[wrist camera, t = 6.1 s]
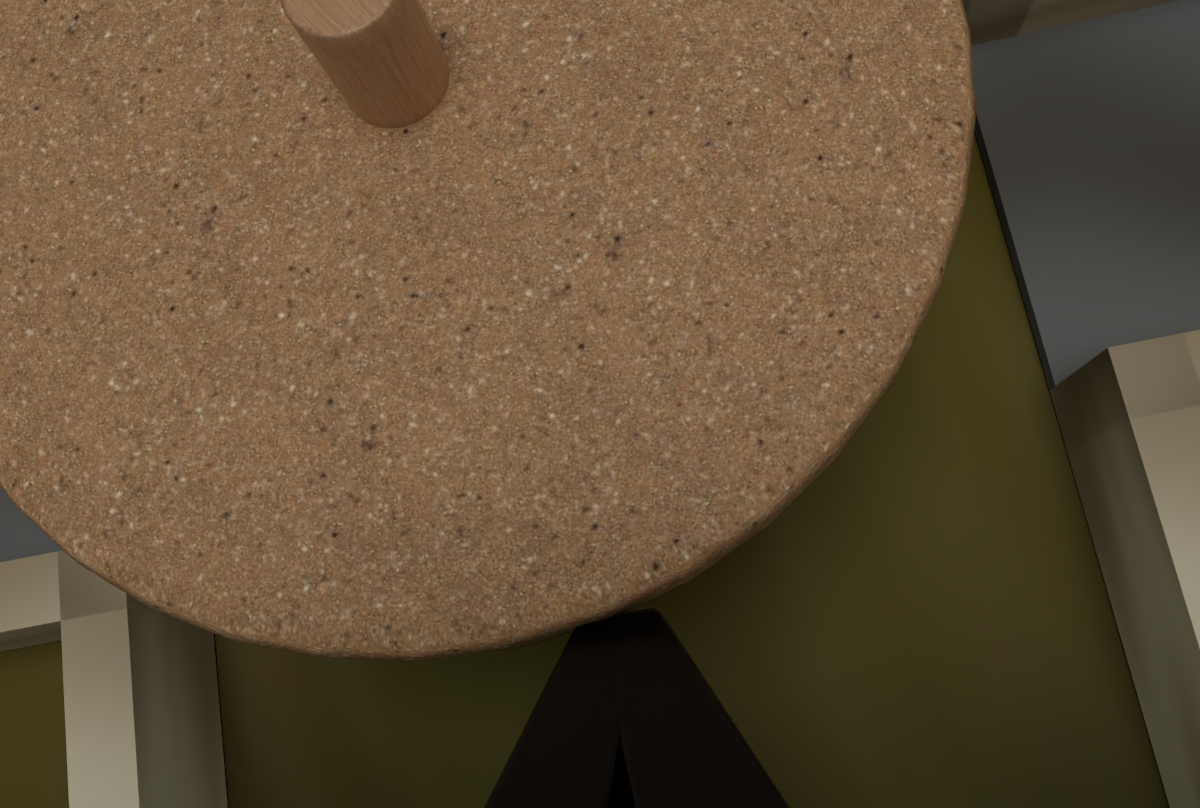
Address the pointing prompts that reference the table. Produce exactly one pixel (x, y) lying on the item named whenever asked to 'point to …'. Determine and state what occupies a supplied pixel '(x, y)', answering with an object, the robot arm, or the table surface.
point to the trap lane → (1063, 338)
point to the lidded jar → (454, 293)
